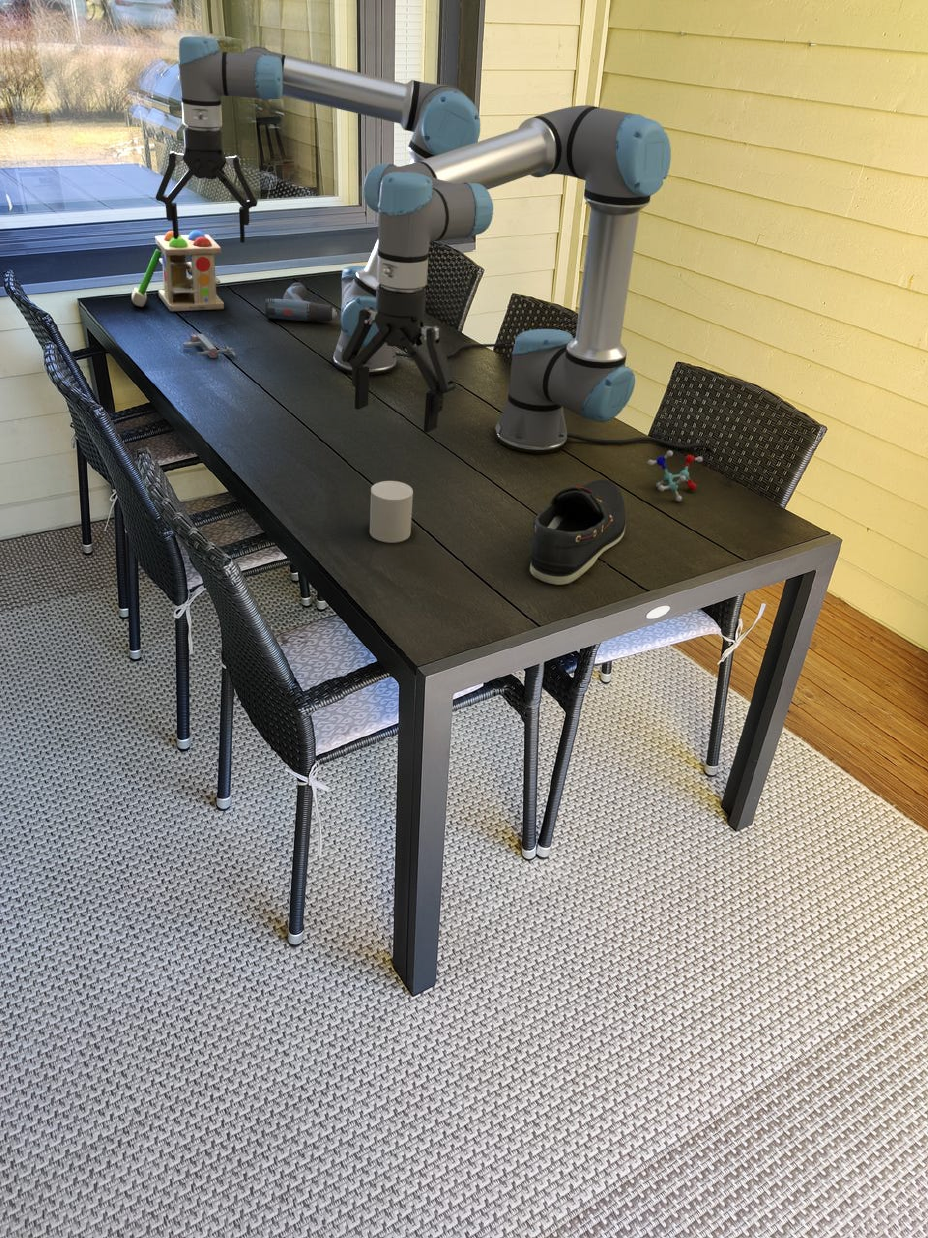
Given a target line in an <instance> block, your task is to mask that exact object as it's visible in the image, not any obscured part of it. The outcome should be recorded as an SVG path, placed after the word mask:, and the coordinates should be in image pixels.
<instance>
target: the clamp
mask: <svg viewBox="0 0 928 1238" xmlns="http://www.w3.org/2000/svg"><path fill="white" fill-rule="evenodd" d="M189 339H190V340H189V341H183V342H182V346H183V348H184V349H190V348H191V349H192V348H194V347H200V348H201V350H203V351H201V352H196V356H208V357H209V358H211V359H212V358H213V359H214V358H217V357H218V355H217V354H231V355H233V358H234V359H238V357H239V355H238V353H235V351H234V348H233V347H229V345H228V344H226V345H224V349H217V347H216V346H215V345H214V344H213V343H212V342H211V341H210V340H209V339H208V338H207V337H206V336H205V335H204V333H197V334H195V333H193V334H190V335H189Z"/></svg>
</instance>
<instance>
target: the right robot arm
mask: <svg viewBox="0 0 928 1238" xmlns="http://www.w3.org/2000/svg"><path fill="white" fill-rule="evenodd" d="M671 150H672V149H671V142H670V139H669V135H668V134H667V132H666V131H665V129H664V127H663V125H662V124H661V123H660V122H658V121H657V120H655V119H652V118H648V117H645V116H644V115H641V114H637V113H632V112H626V111H620V110H615V109H608V108H604V107H599V106H595V105H589V104H587V105H585V104H584V105H583V104H581V105H574V106H573V105H572V106H569V107H564V108H559V109H556V110H555V109H554V110H552V111H548V112H545V113H542V114H539V115H535V116H532V117H530V118H529V117H528V118H527V119H525V120H523V121H522V122H521V124H520V125H519V126H518V128H516V129H513V130H511V131H510V130H509V131H506V132H504V133H501V134H498V135H495V136H492V137H489V138H486V139H483V140H478V142H476V143H473V144H470V145H467V146H464V147H461V148H458V149H455V150H452V151H449V152H446V153H443V154H440V155H437V156H434V157H431V158H427V159H424V160H421V161H418V162H415V163H411V164H409V163H408V164H405V165H402V166H398V165H396V164H394V163H378V164H375V165H374V166H373V167H371V169H370V170H368V172H367V174H366V176H365V178H364V183H363V189H362V190H363V197H364V201H365V203H366V205H367V206H368V207H369V209H370V210H372V211H373V212H375V213H377V214H378V216H377V217H378V218H377V219H378V220H377V222H378V223H377V224H378V225H377V227H378V229H377V240H378V262H377V281H378V282H379V283H380V284H379V285H378V286H377V288H376V309H377V312H376V311H375V310H374V308H373V307H368V308H365V309H363V310H360V312H359V319H358V324H357V326H356V328H355V330H354V332H353V334H352V336H351V338H350V340H349V343H348V345H347V347H346V349H345V351H344V353H343V355H342V361H343V362H347V363H349V364H350V365H351V367H352V374H351V385H352V387H353V388H354V409H355V410H357V411H359V410H361V409H363V408H366V407H367V406H369V392H370V391H369V389H370V375H369V367H367V366H365V367H363V365H365V364H367V363H366V362H367V361H368V360H369V359H370V358H371V357H372V356H373V355H374V354H375V353H376V352H377V351H378V350H379V349H380V348H381V347H382V345H383V344H384V343H385V342H386V343H387V345H388V346H393V347H394V348H395V347H396V348H397V349H399V350H401V351H405V350H406V352H407V354H409V355H410V356H412V357H413V358H412V359H413V361H414V363H415V365H416V367H417V368H418V370H419V372H420V374H421V376H422V377H423V379H424V382H425V383H426V385H427V387H428V388H429V390H428V391H427V392H425V404H424V405H425V406H424V420H423V422H424V423H423V432H424V433H430V432H432V431H433V430H435V429H437V428H438V418H439V413H440V412H442V411H443V406H444V395H445V394H447V393H449V392H450V391H451V392H452V391H453V390H455V389H456V388H457V384H456V381H455V378H454V374H453V372H452V368H451V365H450V362H449V359H448V358H447V356H446V355H447V352H446V350H445V347H444V343H443V340H442V339H443V336H442V334H443V333H442V327H441V326H440V325H439V324H436V325H434V326H429V325H425V323H424V315H425V312H426V303H427V302H426V301H427V290H426V289H425V287H426V286H427V284H428V268H429V267H428V266H429V253H430V244H431V242H432V243H434V242H440V241H447V240H456V239H462V238H463V239H468V238H471V237H474V236H477V235H481V234H483V233H484V232H486V231H487V230H488V229H489V227H490V226H491V224H492V222H493V216H494V202H493V199H492V196H491V193H490V192H489V190H491V189H493V188H496V187H500V186H503V185H505V184H508V183H511V182H513V181H516V180H519V179H521V178H525V177H528V176H531V177H533V178H544V177H547V176H549V175H550V176H551V175H562V176H567V177H572V178H575V179H578V180H582V181H584V188H583V189H584V190H583V191H584V192H583V198H584V200H585V201H586V202H587V204H588V205H589V207H590V213H589V219H588V220H589V221H588V230H587V237H586V246H585V253H584V254H585V255H584V265H583V270H582V271H583V272H582V281H581V289H580V295H579V296H580V298H579V304H578V305H579V306H578V312H577V313H578V314H577V323H576V329H575V330H576V331H575V337H574V336H573V335H572V334H571V333H570V332H569V331H566V330H561V329H553V328H537V329H536V328H535V329H529V330H525V331H522V332H520V333H519V334H518V335H517V336H515V337H516V338H515V340H514V341H515V344H513V350H512V352H511V365H510V374H509V383H508V384H509V385H508V396H507V400H506V401H507V402H506V404H505V405H504V409H503V410H502V413H501V415H500V417H499V419H498V421H497V422H496V425H495V428H494V429H495V433H494V437H495V440H496V441H497V442H498V443H499V444H501V446H504V447H506V448H508V449H510V450H512V451H516V452H520V453H526V454H533V455H544V454H552V453H556V452H559V451H560V450H562V449H564V448H565V447H566V445H567V440H568V438H570V439H574V440H579V441H582V442H583V441H584V442H587V443H593V444H602V445H626V444H632V443H639V442H650V443H656V444H659V445H663V446H666V447H669V448H674V449H678V450H690V449H691V450H692V449H695V448H703V447H702V446H703V444H702V443H703V442H696V443H690V444H677V443H673V442H670V441H666V440H663V439H660V438H655V437H649V436H648V437H646V436H641V437H634V438H633V437H632V438H627V439H602V438H592V437H587V436H583V435H580V434H574V433H570V432H568V431H567V424H566V419H565V413H564V409H566V410H568V411H571V412H572V413H574V414H577V415H580V416H581V417H582V418H584V419H586V420H587V419H588V420H592V421H594V422H598V423H606V422H609V421H611V420H613V419H614V418H616V417H617V416H618V415H619V414H620V413H621V412H622V411H623V410H624V408H626V406H627V405H628V403H629V401H630V399H631V397H632V396H633V392H634V390H635V386H636V376H635V374H634V370H632V369H631V368H630V367H629V366H626V361H627V355H628V353H627V351H628V350H627V348H626V347H625V346H624V345H623V343H622V341H621V340H622V335H623V327H624V321H625V313H626V306H627V299H628V293H629V286H630V285H629V284H630V279H631V272H632V265H633V258H634V251H635V245H636V240H637V239H636V238H637V231H638V224H639V217H640V212H641V211H642V210H643V209H644V208H645V207H647V206H648V205H649V204H650V202H651V196H653V195H655V194H657V192H659V191H660V189H662V187H663V186H664V180H666V179H667V178H668V174H669V171H670V166H671V159H672V158H671V157H672V151H671ZM374 322H375V323H376V325H377V327H378V329H379V331H378V332H377V334H376V335H375V336H374V337H373V338H372V340H371V341H370V342H369V344H368V345H367V346H366V347H365V348H364V349H363V350H362V351H361V352H360V353H359V351H360V349H361V347H362V345H363V343H364V341H365V339H366V337H367V335H368V333H369V331H370V329H371V326H372V324H373V323H374ZM422 336H423V337H422ZM358 353H359V354H358ZM430 357H431V358H430ZM704 449H707V450H708V451H709V452H714V451H715V450H714V448H713V447H712V446H711V447H704Z"/></svg>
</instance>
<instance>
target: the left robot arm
mask: <svg viewBox="0 0 928 1238" xmlns="http://www.w3.org/2000/svg"><path fill="white" fill-rule="evenodd" d="M177 65H178V71H179V72H178V73H179V84H180V85H179V86H180V96H181V112H182V124H183V125H184V126H185V127H184V129H183V141H184V142H183V143H184V153H180V152H177V151H176V150H171V151H170V152H169V155H168V164H167V165H168V166H167V168H166V170H165V173H164V175H163V176H162V177H163V178H162V180H161V183H160V185H159V187H158V189H157V192H156V195H155V200H156V201H158V202H162V203H163V204H164V206H165V216H166V220H167V221H168V222H172V231H173V237H174V239H178V236H179V234H180V232H179V231H180V230H179V219H178V218H179V217H178V207H177V202H174V200H175V199H176V198H177V197H178V195H179V194H180V193H181V191H182V190H183V189H184V187H185V186H187V184H188V182H189V181H190V180H191V179H192V177H193V176H194V177H195V178H197V179H200V180H202V179H208V180H215V179H216V178H217V179H218V180H219V181H220V182H221V184H223V186H224V187H225V188H226V190H228V192H229V193H230V194H231V195H232V197H233V198H234V199H235V200H236V201H237V203H238V204H239V205H240V206H239V208H238V217H239V238H240V239H239V243H245V241H246V234H245V231H246V230H245V226H249V225H250V222H251V221H250V220H251V219H250V209H251V208H254V207H257V206H258V202H259V201H258V199H257V196H256V194H255V192H254V190H253V188H252V186H251V184H250V182H249V180H248V178H247V176H246V173H245V172H244V170H243V167H242V165H241V158H240V156H239V154H235V155H234V156H226V155H225V152H224V133H223V132H224V131H223V130H222V129H221V127H222V126H223V112H222V111H223V110H222V99H221V98H222V96H223V97H224V96H225V97H236V98H237V97H239V98H248V99H249V98H250V99H257V100H258V99H260V100H261V101H266V100H267V101H268V100H275V101H276V100H280V99H281V98H282V96H283V97H286V98H289V99H291V98H292V99H295V100H300V101H303V102H308V103H311V104H316V105H320V106H325V107H329V108H334V109H337V110H341V111H345V112H349V113H353V114H358V115H363V116H367V117H371V118H375V119H378V120H379V119H380V120H382V121H388V122H391V123H394V124H395V123H396V124H399V125H400V126H401V128H402V130H404V131H407V132H412V136H411V138H410V141H409V144H408V146H407V150H408V154H409V155H410V160H409V163H408V164H411V163H415V162H418V161H421V160H424V159H427V158H431V157H434V156H437V155H440V154H443V153H446V152H449V151H452V150H455V149H458V148H461V147H464V146H467V145H470V144H473V143H476V142H479V139H480V135H481V118H480V114H479V113H480V112H479V111H478V108H477V107H476V105H475V104H474V102H473V101H472V100H471V99H470V97H468V95H467V94H466V93H465V92H464V91H462V89H460V88H458V87H456V86H453V85H448V84H447V85H446V84H439V83H431V82H429V83H428V82H424V81H419V80H414V79H411V80H409V81H408V82H406V83H404V82H400V81H396V80H391V79H387V78H383V77H379V76H375V75H370V74H367V73H363V72H358V71H354V70H351V69H346V68H342V67H338V66H333V65H329V64H325V63H321V62H317V61H313V60H309V59H304V58H301V57H297V56H292V55H288V54H282V53H279V52H274V51H271V50H269V49H268V48H266V47H262V46H251V47H249V48H247V49H246V50H245V51H244V52H229V51H224V50H220V47H219V42H218V41H217V40H216V39H215V38H211V37H205V36H183V37H181V38H180V39H179V41H178V63H177ZM181 161H183V162H184V164H185V165H186V166H187V168H188V169H187V170H186V172H185V173H184V174H183V176H182V177H181V178H180V180H179V181H178V182H177V184H176V185H175V186H174V187H173V188H172V190H171V191H170V192H169V194H168V195H167V194H165V193H166V191H167V189H168V187H169V184H170V181H171V179H172V176H173V174H174V171H175V170H176V166H178V165H179V164H181ZM226 164H228V165H229V167H230V168H231V169H234V173H235V175H236V177H237V178H238V181H239V183H240V184H241V186H242V189H243V191H244V193H245V194H246V197H247V198H246V197H245V196H244V195H243V193H242V192H241V191H240V190H239V189H238V187H237V186H236V185H235V184H234V182H233V181H232V180H231V178H229V176H228V174H227V173H226V172H225V170H224V168H225V166H226ZM377 262H378V239H377V240H376V243H375V245H374V247H373V249H372V253H371V254H370V257H369V260H368V262H367V264H366V265H349V266H346V267H344V268H343V269H342V272H341V277H340V281H341V307H340V308H341V310H340V315H339V316H340V317H339V318H340V319H339V320H340V321H339V322H340V325H341V326H340V329H341V330H340V336H339V338H338V341H337V344H336V346H335V347H336V348H335V350H334V352H333V361H332V362H333V363H332V364H333V366H334V367H335V368H337V369H338V370H339V371H342V372H344V373H347V374H351V375H352V367H351V365H350V364H349V363H347V362H343V361H342V355H343V353H344V351H345V349H346V347H347V345H348V343H349V340H350V338H351V336H352V334H353V332H354V330H355V328H356V326H357V324H358V319H359V312H360V310H363V309H365V308H368V307H373V308H374V310H375V311H376V312H377V309H376V288H377V286H378V285H379V284H380V283H379V282H378V281H377ZM378 331H379V329H378V327H377V325H376V323H375V322H374V323H373V324H372V326H371V329H370V331H369V333H368V335H367V337H366V339H365V341H364V343H363V345H362V347H361V349H360V351H359V353H360V352H361V351H362V350H363V349H364V348H365V347H366V346H367V345H368V344H369V342H370V341H371V340H372V338H373V337H374V336H375V335H376V334H377V332H378ZM510 341H511V340H507V341H502V342H498V343H497V342H496V343H473V344H470V343H469V344H463V345H460V346H459V347H457V348H456V349H455V350H454V351H452V352H451V353H449V354H446V356H447V359H448V358H452V357H454V356H456V354H457V353H458V352H460V351H462V350H465V349H468V348H469V349H470V348H496V347H501V346H506V345H511V344H510ZM359 353H358V354H359ZM397 357H402V358H408V359H413V357H412V356H410V355H409V354H408V353H402V352H395V346H388V345H387V343H386V342H385V343H384V344H383V345H382V347H381V348H380V349H379V350H378V351H377V352H376V353H375V354H374V355H373V356H372V357H371V358H370V359H369V360H368V361H367V362H366V363H367V364H365V365H363V367H365V366H367V367H369V376H380V375H381V376H382V375H386V374H389V373H391V372H393V371H395V369H396V368H397V361H398V359H397ZM430 358H431V357H430Z"/></svg>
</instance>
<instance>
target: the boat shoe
mask: <svg viewBox="0 0 928 1238" xmlns="http://www.w3.org/2000/svg"><path fill="white" fill-rule="evenodd" d="M623 497H624V496H623V494H622V493H621V490H620V489H619V487H618V486H617V484H616V483H614V482H613V481H611V480H609V479H595V480H593V481H589V482H587V483H586V484H584V485H583V486H568V487H566V488H563V489H562V490H560V491H559V492H556V494H555V495H554V496H553V497H552V498H551V500H550V502H549V504H548V506H546V507H544V508H543V510H541V511H540V513H538V514H537V515H536V517H535V519H534V520H533V522H532V529H533V538H532V541H531V546H530V547H531V548H530V551H529V558H530V559H531V560H530V566H529V572H530V574H531V575H532V576H533V577H534V578H535V579H538V580H540V581H542V582H544V583H547V584H550V585H557V586H558V585H559V586H561V585H568V584H571V583H572V582H574V581H576V580H577V579H579V578H580V577H581V576H582V575H584V573H586V572H587V571H588V570H589V569H590V568H591V567H593V565H594V564H595V563H596V561H597V560H598V558H599V557H601V555H602V554H603V553H604V552H606V551H607V550H609V549H610V548H612V547H614V546H615V545H617V544H618V543H619V542H620V541H621V540H622V539H623V537H624V535H625V532H626V526H627V525H626V524H627V516H626V505H625V502H624V498H623Z"/></svg>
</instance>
